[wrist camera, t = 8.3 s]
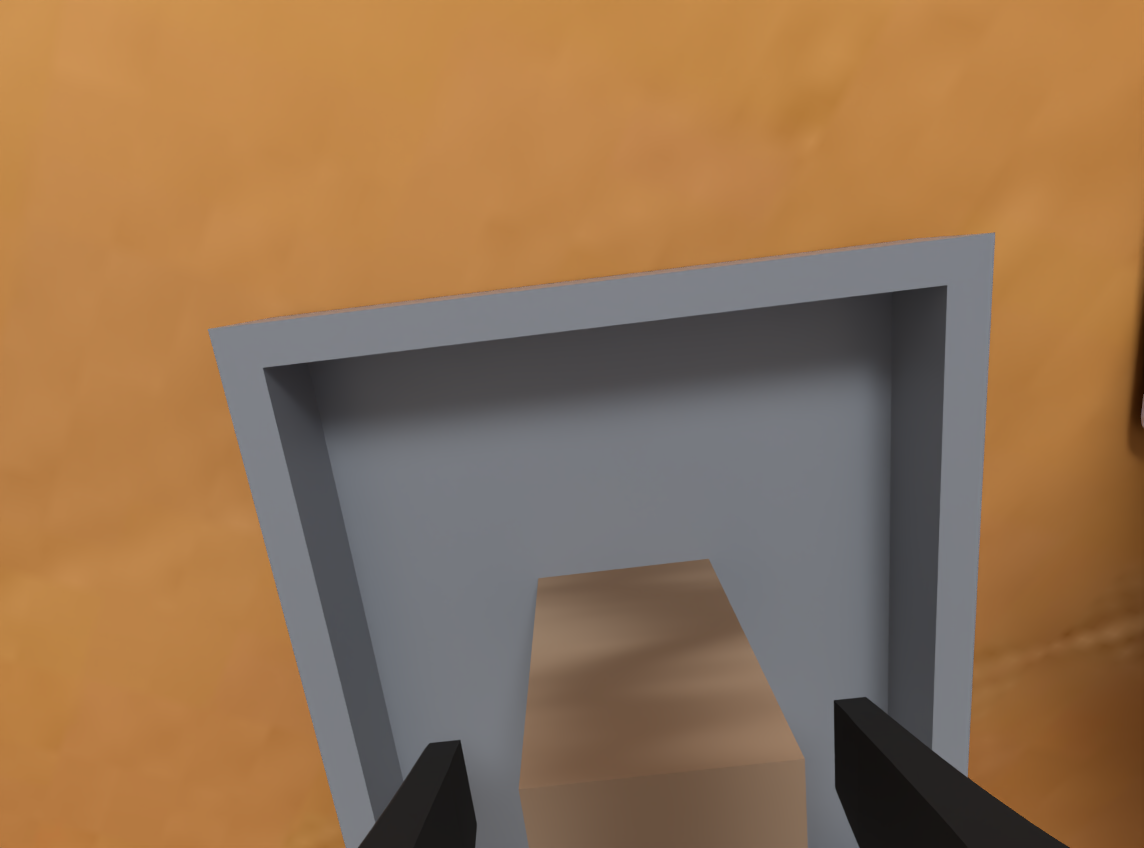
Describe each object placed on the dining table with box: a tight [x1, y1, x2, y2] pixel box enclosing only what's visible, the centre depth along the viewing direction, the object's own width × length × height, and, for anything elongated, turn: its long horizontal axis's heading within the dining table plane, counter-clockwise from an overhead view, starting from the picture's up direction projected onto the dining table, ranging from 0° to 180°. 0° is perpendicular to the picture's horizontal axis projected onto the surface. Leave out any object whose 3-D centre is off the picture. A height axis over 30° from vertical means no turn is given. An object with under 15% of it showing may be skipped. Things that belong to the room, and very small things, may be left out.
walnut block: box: [519, 559, 808, 848], centre depth 12 cm, size 4×4×6 cm
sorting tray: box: [208, 233, 995, 848], centre depth 14 cm, size 14×18×2 cm
